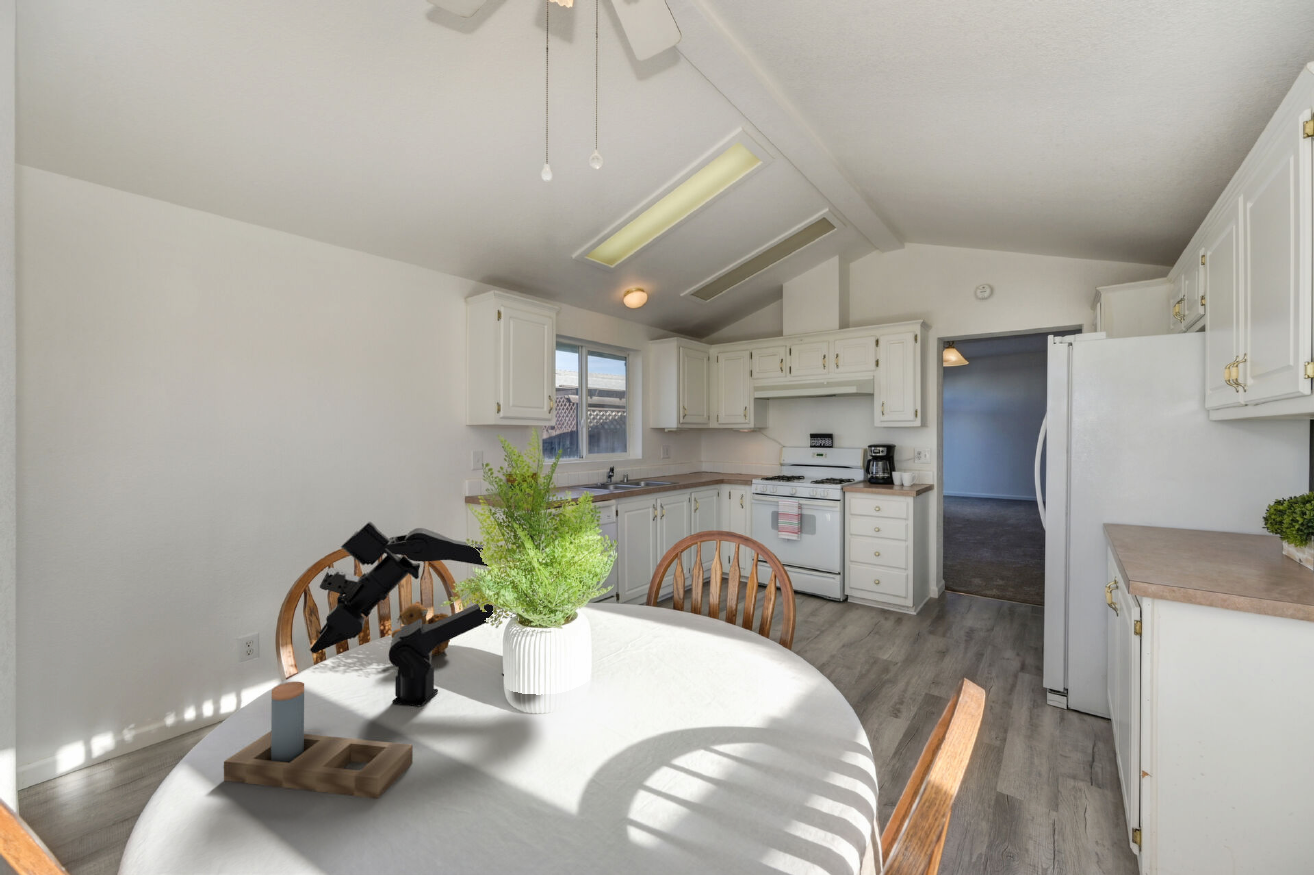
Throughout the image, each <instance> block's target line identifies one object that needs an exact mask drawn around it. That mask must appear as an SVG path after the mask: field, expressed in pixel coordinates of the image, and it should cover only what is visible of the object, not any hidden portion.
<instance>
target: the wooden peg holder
mask: <svg viewBox="0 0 1314 875" xmlns="http://www.w3.org/2000/svg"><path fill="white" fill-rule="evenodd" d="M413 748H414V746H413V744H410V743H409V744H408V743H406V744H405V743H398V742H388V741H379V740H369V739H367V740H366V739H360V738H349V737H339V736H328V735H318V734H309V733H304V752H303V753H302V754H301V755H299V756H298V757H297V758H295V759H294V760H293V761H291V762H290V763H287V762H277V761H271V730H270V731H269V732H267V733H266V734H264V735H262V736H261V737H259V738H258V739H256V740H255V741H253V742H252V743H250V744H249V745H247V746H245V747H244V748H242V749H241V750H239V751H238V752H236V753H234V754H233V755H232V756H230V757H228V758H226V759H225V760H223V781H225V782H233V783H243V784H252V785H260V786H268V787H278V788H284V789H285V788H287V789H292V790H293V789H295V790H303V791H309V792H320V793H330V794H335V795H337V794H338V795H344V796H352V797H353V796H354V797H362V798H371V799H379V798H380V797H381V795H383V794H384V793H385V791H387V790H388V789H389V788H390V787H391V786H392V785H393V784H394V783H395V781H397V780H398V778H399V777H400V776H402V774H404V773H405V771H406V770H407V769H409V767H410V766H411V765H412V764H413V756H414V755H413V751H414V750H413ZM352 762H353V763H363V764H366V765H365V766H363V768H361V769H360V770H359V769H358V770H357V769H348V768H345V767H346V766H347V765H349V763H352Z"/></svg>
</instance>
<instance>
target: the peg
mask: <svg viewBox="0 0 1314 875" xmlns="http://www.w3.org/2000/svg"><path fill="white" fill-rule="evenodd" d="M270 712H271V717H270V718H271V719H270V720H271V726H270V727H271V728H270V731H271V761H277V762H287V763H290V762H291V761H293V760H294V759H295V758H297V757H298V756H299V755H301V754H302V753H303V752H304V734H305V683H304V682H303V681H289V682H285V683H281V684H278V685H276V686H274V687H273V688H272V690H271V710H270Z"/></svg>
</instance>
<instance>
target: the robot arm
mask: <svg viewBox="0 0 1314 875" xmlns="http://www.w3.org/2000/svg"><path fill="white" fill-rule="evenodd" d="M474 544H475V545H477V546H478V547H476V546H475V548H476V549H478V550H479V551H480V549H482V550H483V548H482V547H483V546H484V544H479V543H474ZM474 544H471V545H474ZM340 548H341V549H343V551H345V552H346V553H347V554H349V556H351V557H352V558H353V559H354V560H356V561H357V562H358V563H359V564H360V565H361V566H365V565H366V566H369V565H370V566H372V565H374V564H375V563H376V562H378V561H379V560H380V559H381V557H382V556H384V554H385V556H384V557H383V558H382V559H381V560H380V561H379V562H378V563H377V564H376V565H375V566H374V567H373V568H372V569H371V570H369V571H368V572H364V573H362V575H360V576H357V575H354V574H353V573H349V572H347V571H344V570H341V569H338V568H335V567H329V568H328V570H327V572H326V573H325V575H324V577H323V579H322V581H321V582H320V584H319V589H321V590H323V591H330V592H333V593H336V594H338V597H337V598H336V599H337V600H336V601H337V602H336V603H337V604H336V605H335V606H334V607H333V608H332V609H331V611H330V612H329V613H328V614H327V616H326V618H325V621H326V623H325V624H324V625H323V627H322V628H321V629H320V631H319V634H320V635H319V636H318V638H317V639H316V641H315V642H314V643H313V645H312V646H311V648H310V649H309V651H310V652H312V653H313V654H317V653H319V652H321V651H323V650H325V649H327V648H330V647H332V646H335V645H338V644H340V643H342V642H345V641H347V640H352V639H355V638H357V636H359V634H361V632H362V631H363V630H364V626H365V617H366V618H368V617H369V616H370V615H371V613H372V610H373V609H375V607H377V605H378V604H380V602H382V601H383V602H384V601H385V600H386V599H387V598H388V596H389V594H390V593H391V592H392V591H393V590H394V589H395V588H396V587H397V586H398V585H399V584H400V583H401V582H402V581H403V580H404V579H406V578H407V576H408V575H410V576H411V577H413V578H414V579H415V580H418V579H419V578H420V568H421V562H438V561H454V562H459V563H460V562H461V563H466V564H473V565H477V566H485V567H489V566H488V565H487V564H484V562H482V558H481V557H480V553H479V552H478V551H477V550H476V549H475V548H473V547H471V546H470V545H468V544H467V543H466V541H461V540H454V539H452V538H449V537H446V536H445V535H443V534H440V533H438V532H435V531H433V530H430V529H427V528H424V527H417V528H414V529H413V530H410V531H409V532H408V533H407V534H403V535H396V536H391V537H389V538H388V537H387V536H386V535H385V534H384V533H383V532H382V531H380V530H379V529H378V528H377V527H376V525H375V524H374V523H373V522H371V521H368V522H367V523H366V524H365V525H363V527H361V528H360V529H359V530H356V531H355V532H353V533H352V535H351V536H350V537H349V538H348V539H347V540H346V541H345V542H344V543H343V544H342V545H341V546H340ZM480 552H481V551H480ZM414 562H416V563H414ZM417 562H418V563H417ZM419 562H420V563H419ZM484 609H485V610H486V611H487V612H482V610H480V607H479V605H478V603H475V604H474V605H472V606H470V607H466V608H465V609H462V610H460V611H458V612H456V613H454V614H451V615H448V616H449V617H447V618H444V619H442V620H440V621H438V622H435V623H432V624H424V625H423V624H422V619H419V620H417V621H415V622H414V623H412V624H410V625H407V626H404V625H401V627H400V629H401V630H400V631H399V632H397V633H396V634H395V635H394V637H393V638H391V642H390V645H389V646H390V647H389V650H388V659H389V662H390V664H391V665H392V666H395V667H396V668H397V670H396V671H397V672H396V675H395V677H394V678H395V683H394V687H395V688H394V689H395V690H394V694H395V695H394V696H395V698H393V700H392V701H391V704H393V705H394V704H395V705H404V706H405V705H407V706H414V707H416V706H417V707H421V706H423V705H425V704H426V703H427V702H428V701H429V700H430V699H431V698H433V697H434V696H435V695H436V694H437V693H438V692H439V689H438V688H435V665H434V664H432V656H431V652H432V650H434V649H435V648H436V647H437V646H438V645H440V644H441V643H443V642H446V641H448V640H450V641H451V640H453V639H454V638H456V637H459V636H461V635H463V634H466V633H467V632H469V631H472V630H474V629H476V628H478V627H480V626H482V625H484V624H487V623H488V622H486V621H484V620H486V618H489V617H490V616H491V615H492V614H493V612H492V611H493V606H492V605H489V604H486V605H484Z"/></svg>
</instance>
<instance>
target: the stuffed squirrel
mask: <svg viewBox="0 0 1314 875" xmlns="http://www.w3.org/2000/svg"><path fill="white" fill-rule="evenodd" d="M428 612H429V610H428V609H427V608H425V607H424V605H422V604H421V603H420V601H417V600H416V601H415V603H411V604H409V605H408V606H407V607H405V608H404V609H403V610H402V611H401V612H400V613H399V616H398V617H397V619H396V620H397V622H396V623H397V624H399V623H400V624H401V626H407V625H410V624H412V623H414V622H415V621H417V620H419V619H422V624H423V625H424V624H432V623H435V622H438V621H440V620H442V619H444V618H447V617H449V616H450V615H448V614H447V613H443V612H440V613H436V614H433V615H431V617H429V618H428V619H427V615H428V614H427V613H428ZM400 630H401V628H396V629H394V630H393V632H392V633H391V639H393V637H394V635H395V634H396V633H397V632H399V631H400ZM450 641H451V639H450V640H448V641H446V642H443V643H441V644H440V645H438V646H437V647H436V648H435V649H434V650H432V652H431V657H432V655H434V656H438V655H440V654H441V653H443V652H444V651H446V649H448V647H449V643H450Z"/></svg>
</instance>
